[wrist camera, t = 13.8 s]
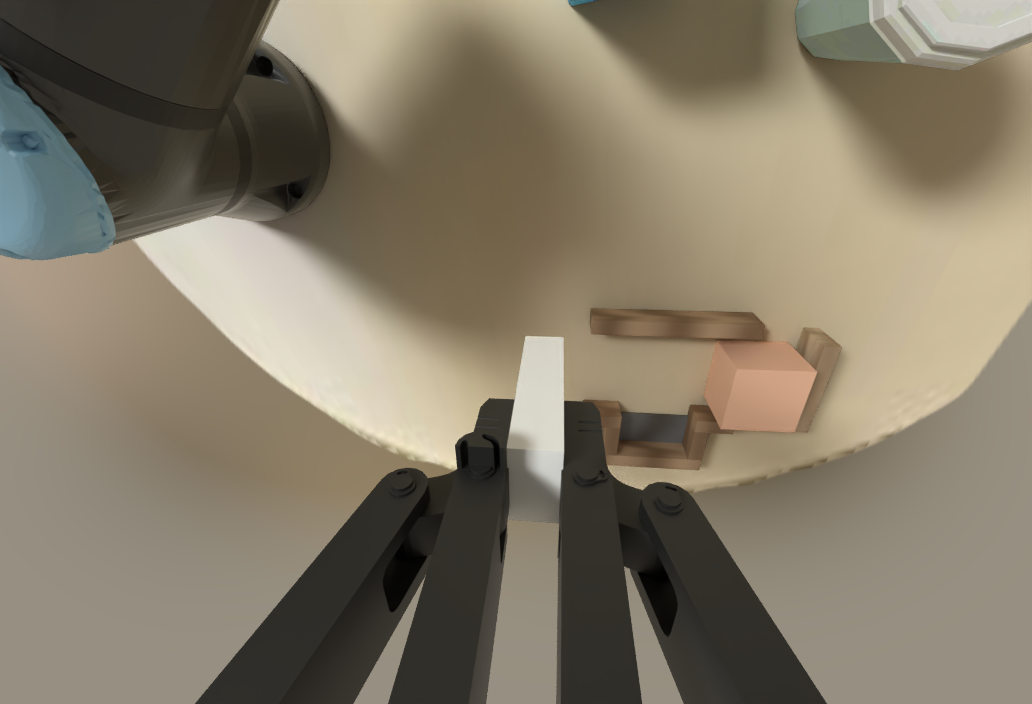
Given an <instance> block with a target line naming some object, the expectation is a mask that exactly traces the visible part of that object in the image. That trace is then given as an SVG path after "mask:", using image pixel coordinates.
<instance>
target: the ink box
mask: <svg viewBox="0 0 1032 704" xmlns="http://www.w3.org/2000/svg"><path fill="white" fill-rule="evenodd" d="M593 1H597V0H568V2H569V5H571V6H574V5H579V4H584V3H589V2H593Z"/></svg>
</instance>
